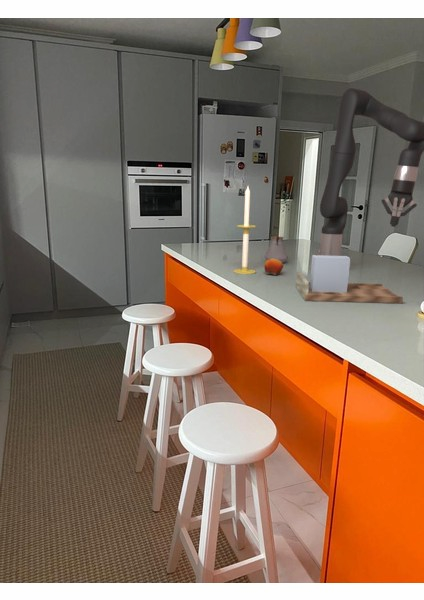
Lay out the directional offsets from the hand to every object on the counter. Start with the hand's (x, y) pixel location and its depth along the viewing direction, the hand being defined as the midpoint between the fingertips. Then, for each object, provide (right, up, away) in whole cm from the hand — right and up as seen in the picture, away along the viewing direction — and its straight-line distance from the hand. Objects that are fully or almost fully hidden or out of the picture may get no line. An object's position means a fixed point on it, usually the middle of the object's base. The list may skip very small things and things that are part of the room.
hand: (393, 226), depth 161 cm
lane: (-22, -26, -10) cm, 36 cm away
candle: (-55, -16, +28) cm, 63 cm away
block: (-28, -25, -11) cm, 39 cm away
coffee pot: (-38, -11, +48) cm, 62 cm away
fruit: (-42, -17, +23) cm, 51 cm away
